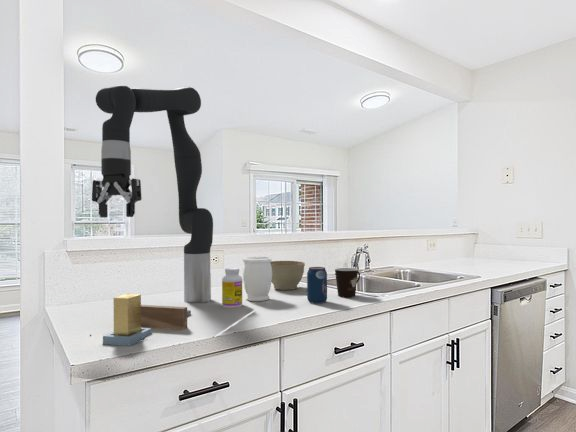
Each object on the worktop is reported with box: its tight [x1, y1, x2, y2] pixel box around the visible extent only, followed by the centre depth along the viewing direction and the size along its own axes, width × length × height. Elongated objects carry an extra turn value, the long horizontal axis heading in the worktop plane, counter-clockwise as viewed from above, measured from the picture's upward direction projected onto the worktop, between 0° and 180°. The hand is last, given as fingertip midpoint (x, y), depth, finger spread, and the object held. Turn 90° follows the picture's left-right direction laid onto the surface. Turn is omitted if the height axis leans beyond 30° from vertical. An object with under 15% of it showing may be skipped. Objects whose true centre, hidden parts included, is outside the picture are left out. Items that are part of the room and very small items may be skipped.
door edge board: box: [141, 304, 188, 331], centre depth 107 cm, size 2×20×6 cm, turn 75°
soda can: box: [306, 266, 328, 305], centre depth 139 cm, size 7×7×12 cm
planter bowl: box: [270, 260, 306, 291], centre depth 167 cm, size 16×16×11 cm
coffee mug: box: [334, 267, 361, 299], centre depth 150 cm, size 12×9×10 cm
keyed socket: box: [102, 327, 153, 347], centre depth 98 cm, size 8×8×2 cm
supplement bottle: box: [221, 267, 243, 309], centre depth 132 cm, size 7×7×13 cm
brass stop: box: [113, 293, 142, 337], centre depth 98 cm, size 5×4×10 cm
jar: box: [242, 256, 273, 302], centre depth 145 cm, size 11×10×15 cm
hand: (116, 217), depth 110 cm, fingers open, 8 cm apart
